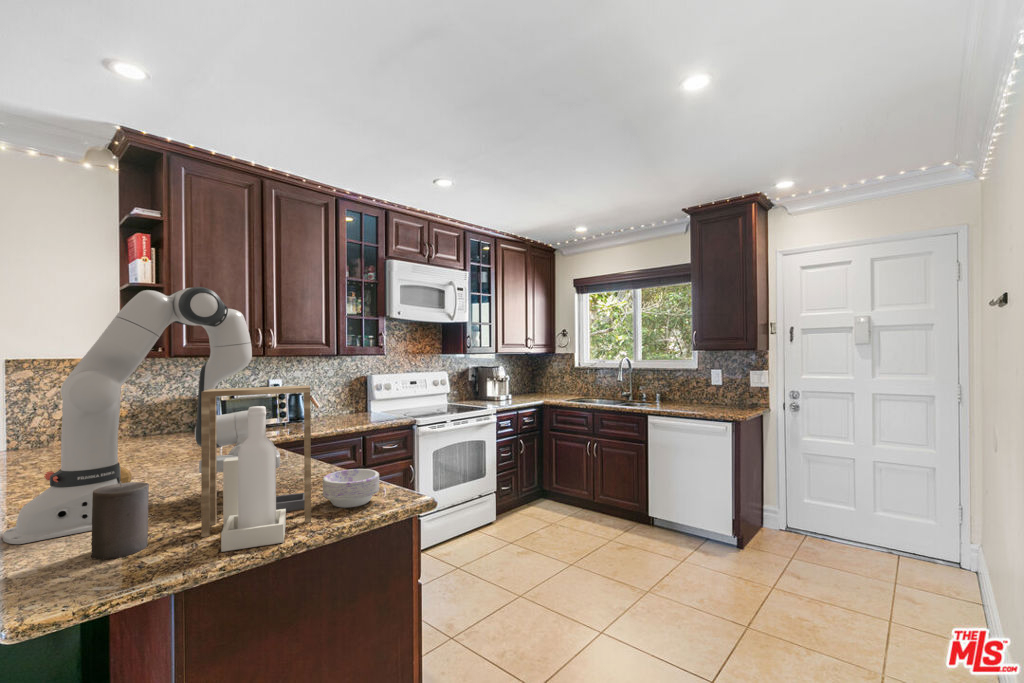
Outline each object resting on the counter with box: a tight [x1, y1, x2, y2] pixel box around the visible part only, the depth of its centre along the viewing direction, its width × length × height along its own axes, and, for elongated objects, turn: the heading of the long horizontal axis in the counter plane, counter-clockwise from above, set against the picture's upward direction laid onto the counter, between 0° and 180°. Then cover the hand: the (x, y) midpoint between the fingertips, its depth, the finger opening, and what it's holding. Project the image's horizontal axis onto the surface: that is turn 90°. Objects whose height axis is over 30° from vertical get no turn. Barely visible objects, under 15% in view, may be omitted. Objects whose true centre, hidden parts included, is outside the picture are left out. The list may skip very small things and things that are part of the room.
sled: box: [220, 457, 287, 553], centre depth 115 cm, size 22×14×16 cm, turn 23°
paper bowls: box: [322, 468, 380, 509], centre depth 136 cm, size 15×15×8 cm
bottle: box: [238, 405, 277, 529], centre depth 112 cm, size 8×8×30 cm
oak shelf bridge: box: [200, 384, 312, 538], centre depth 121 cm, size 10×24×34 cm, turn 113°
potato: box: [119, 466, 133, 484], centre depth 153 cm, size 10×14×8 cm
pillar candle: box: [90, 481, 150, 561], centre depth 105 cm, size 10×10×15 cm
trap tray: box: [276, 492, 305, 512], centre depth 132 cm, size 8×14×2 cm, turn 113°
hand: (238, 468), depth 131 cm, fingers closed
